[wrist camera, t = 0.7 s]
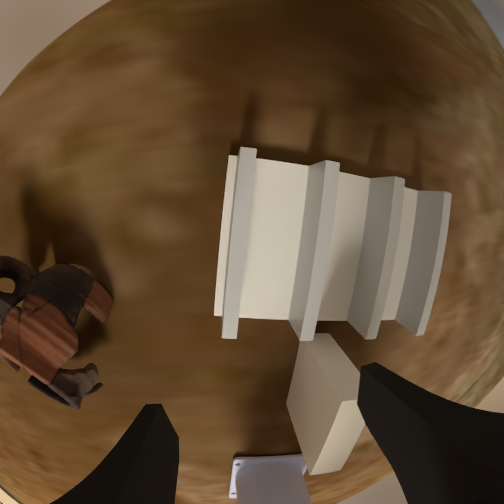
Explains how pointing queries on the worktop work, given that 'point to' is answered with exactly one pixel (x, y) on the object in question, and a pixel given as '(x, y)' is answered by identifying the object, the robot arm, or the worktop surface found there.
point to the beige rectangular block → (324, 404)
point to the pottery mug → (49, 326)
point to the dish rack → (326, 247)
